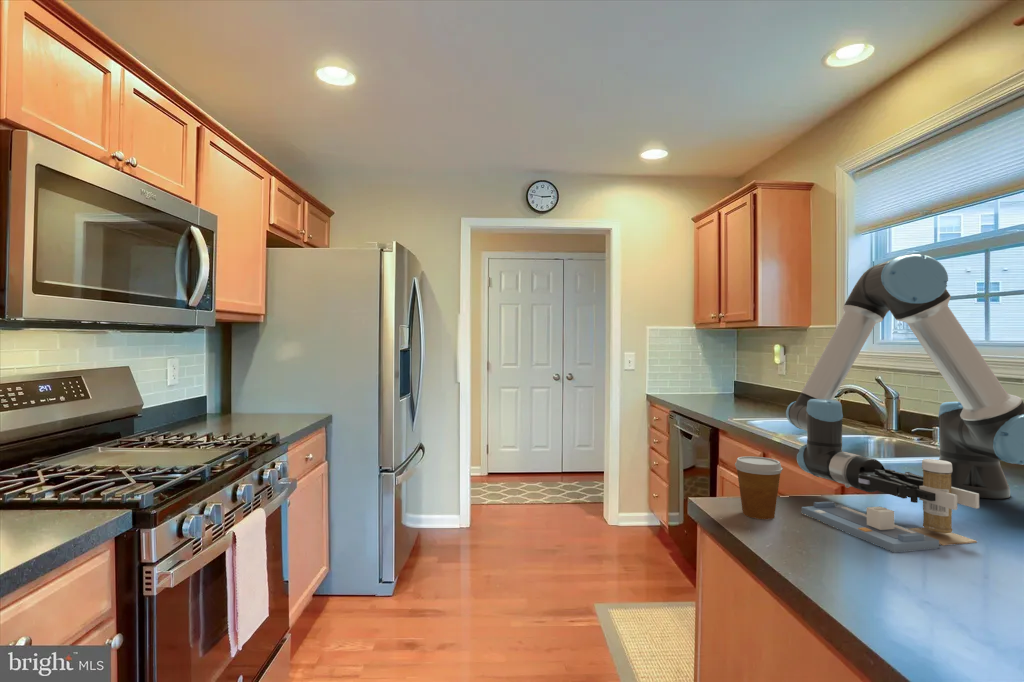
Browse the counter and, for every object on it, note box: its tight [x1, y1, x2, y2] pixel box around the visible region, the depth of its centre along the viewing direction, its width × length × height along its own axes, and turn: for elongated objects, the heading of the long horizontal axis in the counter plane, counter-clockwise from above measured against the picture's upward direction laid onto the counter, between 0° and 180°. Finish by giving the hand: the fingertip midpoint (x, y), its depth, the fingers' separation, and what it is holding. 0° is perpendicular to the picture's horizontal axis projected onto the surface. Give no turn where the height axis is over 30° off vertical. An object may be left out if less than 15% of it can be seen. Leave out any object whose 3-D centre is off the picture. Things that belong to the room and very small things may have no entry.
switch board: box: [800, 501, 940, 553], centre depth 103 cm, size 10×22×2 cm, turn 11°
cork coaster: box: [908, 526, 978, 546], centre depth 99 cm, size 8×8×1 cm
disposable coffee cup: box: [734, 456, 783, 520], centre depth 112 cm, size 10×10×12 cm
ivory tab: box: [866, 506, 895, 530], centre depth 99 cm, size 3×3×4 cm
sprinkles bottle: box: [921, 458, 953, 533], centre depth 99 cm, size 5×5×14 cm
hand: (966, 501), depth 94 cm, fingers closed on sprinkles bottle, 4 cm apart
